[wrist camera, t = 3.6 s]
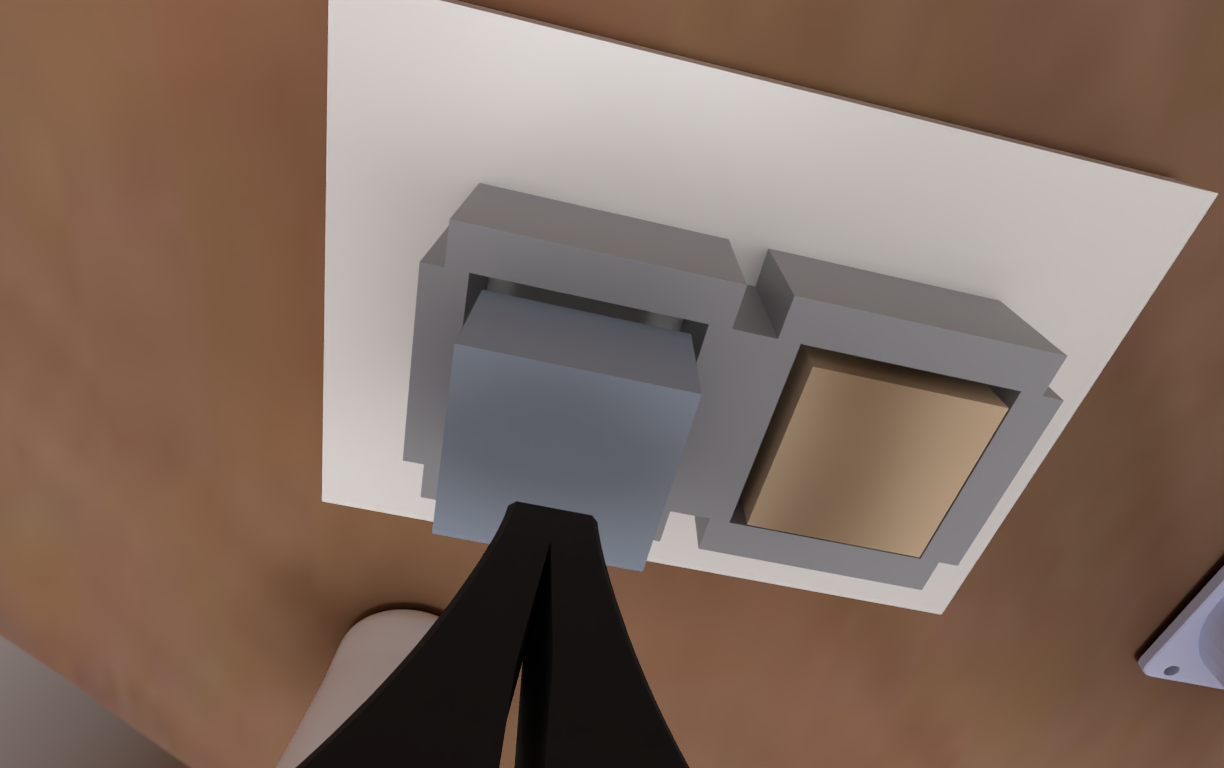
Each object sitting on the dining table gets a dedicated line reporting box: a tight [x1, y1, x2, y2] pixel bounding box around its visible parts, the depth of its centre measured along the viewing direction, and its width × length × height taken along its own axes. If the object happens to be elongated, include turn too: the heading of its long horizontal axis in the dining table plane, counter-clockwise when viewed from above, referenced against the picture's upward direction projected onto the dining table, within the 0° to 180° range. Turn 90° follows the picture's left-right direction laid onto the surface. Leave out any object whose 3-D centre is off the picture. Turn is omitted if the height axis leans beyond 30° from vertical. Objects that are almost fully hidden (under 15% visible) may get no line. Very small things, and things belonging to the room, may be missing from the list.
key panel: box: [322, 0, 1218, 615], centre depth 17 cm, size 20×14×4 cm
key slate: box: [432, 290, 702, 572], centre depth 14 cm, size 4×4×2 cm
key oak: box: [741, 344, 1009, 557], centre depth 17 cm, size 4×4×2 cm
